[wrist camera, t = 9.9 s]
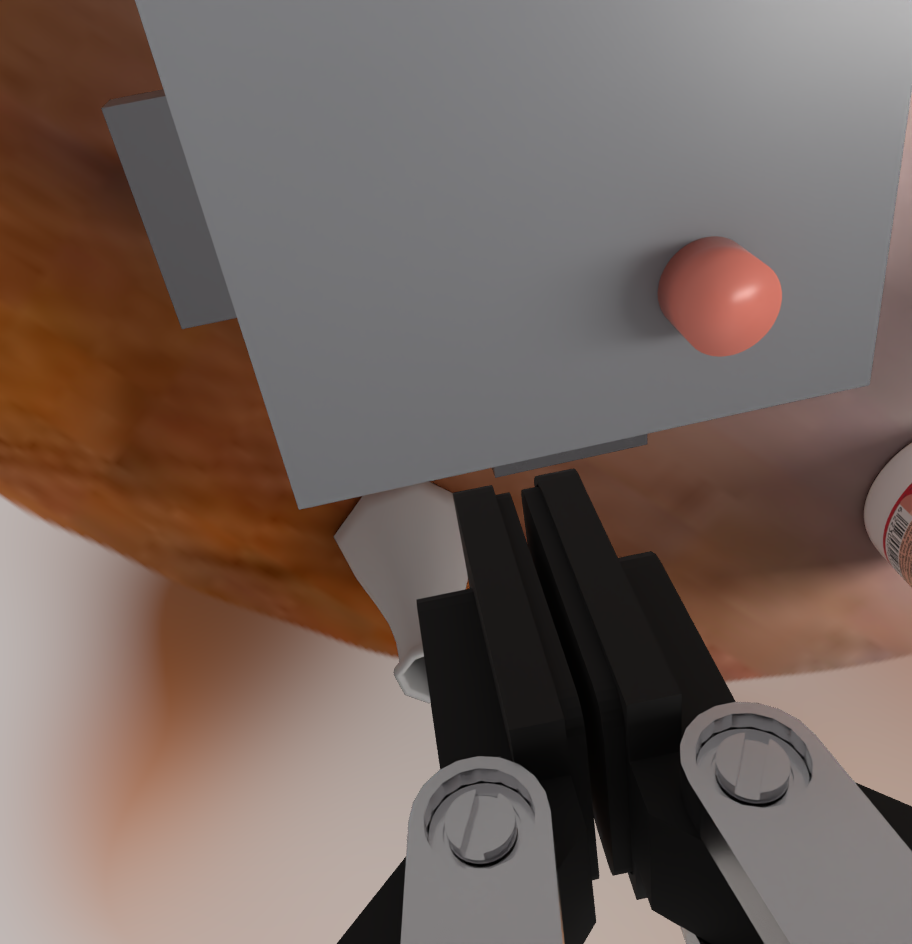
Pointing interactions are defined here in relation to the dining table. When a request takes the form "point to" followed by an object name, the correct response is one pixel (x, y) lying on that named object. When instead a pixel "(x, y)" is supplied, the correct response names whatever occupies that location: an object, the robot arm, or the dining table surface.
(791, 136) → the lid
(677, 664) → the robot arm
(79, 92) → the dining table surface
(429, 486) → the flask
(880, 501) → the fruit juice
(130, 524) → the dining table surface
